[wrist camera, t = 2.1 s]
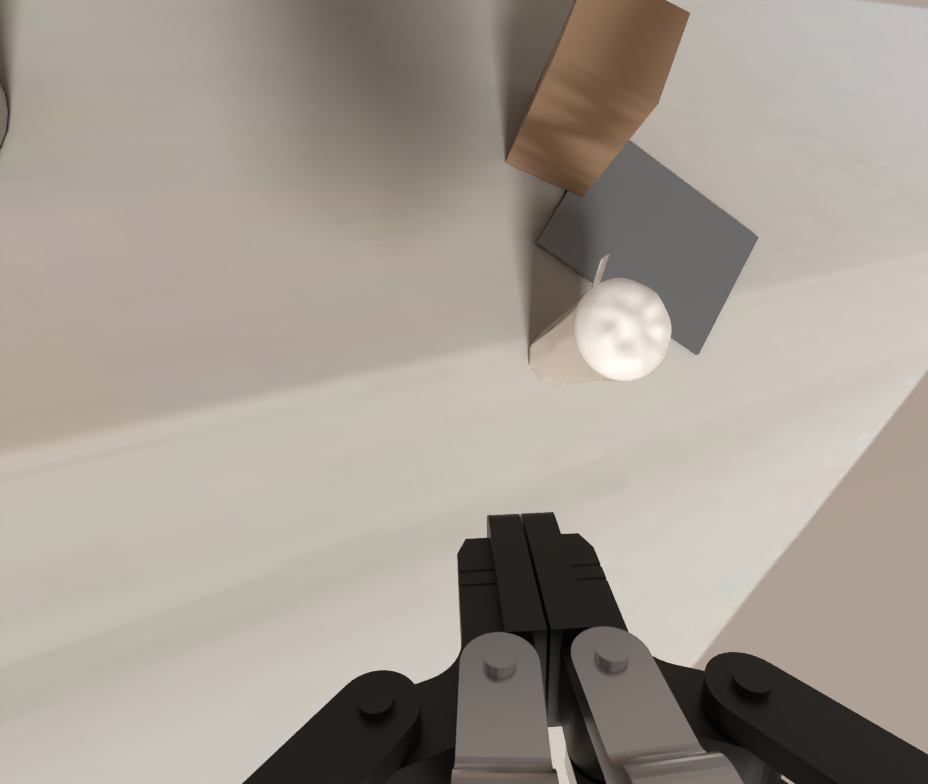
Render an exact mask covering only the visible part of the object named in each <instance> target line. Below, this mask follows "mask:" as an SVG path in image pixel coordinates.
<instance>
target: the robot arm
mask: <svg viewBox="0 0 928 784" xmlns="http://www.w3.org/2000/svg"><path fill="white" fill-rule="evenodd" d="M7 115H8V110H7V104H6V97H5V92H4V90H3V88H2V85H1V83H0V146H1V143H2V140H3V138H4V135H5V132H6V125H7ZM457 558H458V585H459V611H460V630H461V651H460V653H459V656H458V658H457V659H456V661H455V662H454V663H453V664H452V665H451V666H450V668H448V669H447V670H446V671H445V672H443V673H441V674H440V675H438V676H436V677H434V678H431V679H429V680H426V681H423V682H420V683H418V684H414V683H413V682H412V681H411V680H410V679H409V678H407V677H406V676H404V675H402V674H400V673H397V672H394V671H387V670H379V671H373V672H369V673H366V674H363V675H361V676H359V677H357V678H355V679H354V680H352V681H351V682H350V683H349V684H347V685H346V686H345V687H344V688H343V689H342V690H341V691H340V692H339V693H338V694H337V695H336V696H334V697H333V698H332V699H331V700H330V701H329V702H328V703H327V704H326V705H325V706H324V707H323V708H322V709H321V710H320V711H319V712H318V713H316V714H315V715H314V716H313V717H312V718H311V719H310V720H309V721H308V722H307V723H306V724H305V725H304V726H303V727H302V728H301V729H300V730H299V731H297V732H296V733H295V734H294V735H293V736H292V737H291V738H290V739H289V740H288V741H287V742H286V743H285V744H284V745H283V746H282V747H281V748H279V749H278V750H277V751H276V752H275V753H274V754H273V755H272V756H271V757H270V758H269V759H268V760H267V761H266V762H265V763H264V764H263V765H261V766H260V767H259V768H258V769H257V770H256V771H255V772H254V773H253V774H252V775H251V776H250V777H249V778H248V779H247V780H246V781H245V782H243V783H242V784H559V781H558V776H557V771H556V769H553V767H552V761H551V753H550V744H549V735H548V727H557V726H562V728H563V733H564V737H565V742H566V751H565V767H566V772H567V776H568V779H569V782H570V784H788V783H787V782H785V781H784V780H782V779H781V775H783V776H785V777H786V778H788V779H789V780H791V781H792V782H793V783H795V784H928V754H926V753H924V752H923V751H921V750H919V749H917V748H916V747H914V746H912V745H910V744H909V743H907V742H905V741H904V740H902V739H900V738H898V737H897V736H895V735H893V734H892V733H890V732H888V731H886V730H884V729H883V728H881V727H879V726H878V725H876V724H874V723H872V722H871V721H869V720H867V719H866V718H864V717H862V716H860V715H859V714H857V713H855V712H853V711H851V710H850V709H848V708H846V707H845V706H843V705H841V704H840V703H838V702H836V701H835V700H833V699H831V698H829V697H828V696H826V695H824V694H822V693H821V692H819V691H817V690H816V689H814V688H812V687H810V686H809V685H807V684H805V683H803V682H802V681H800V680H798V679H797V678H795V677H793V676H791V675H789V674H788V673H786V672H784V671H783V670H781V669H779V668H778V667H776V666H774V665H772V664H771V663H768V662H767V661H765V660H763V659H761V658H758V657H756V656H753V655H749V654H745V653H739V652H728V653H723V654H719V655H717V656H715V657H713V658H712V659H711V660H710V661H709V662H708V664H707V665H706V668H705V671H702V670H698V669H693V668H688V667H683V666H679V665H674V664H671V663H667V662H664V661H662V660H659V659H657V658H655V657H653V656H652V655H651V653H650V651H649V650H648V648H647V647H646V645H645V644H644V643H643V642H642V641H641V640H639V639H638V638H637V637H636V636H634V635H632V634H631V633H629V632H628V630H627V627H626V625H625V622H624V620H623V617H622V615H621V613H620V610H619V608H618V605H617V603H616V601H615V598H614V596H613V593H612V591H611V588H610V586H609V584H608V581H606V576H605V574H604V572H603V569H602V567H600V562H599V560H598V557H597V555H596V552H595V550H594V547H593V546H592V545H590V544H589V543H588V542H587V541H586V540H585V539H584V538H583V537H582V536H581V535H580V534H578V533H575V534H561V533H560V530H559V527H558V524H557V521H556V518H555V515H554V513H553V512H546V513H525V514H521V516H520V515H519V514H507V515H487V538H476V539H466V540H465V541H464V543H463V545H462V547H461V549H460V550H459V552H458V554H457Z"/></svg>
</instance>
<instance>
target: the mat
mask: <svg viewBox="0 0 928 784" xmlns="http://www.w3.org/2000/svg"><path fill="white" fill-rule="evenodd" d="M757 239H758V237H757V236H756V235H755V234H753V233H752V232H751V231H749V230H748V229H747V228H745V227H744V226H743V225H741V224H740V223H739V222H737V221H736V220H735V219H733V218H732V217H731V216H729V215H728V214H727V213H725V212H724V211H723V210H721V209H720V208H719V207H717V206H716V205H715V204H713V203H712V202H711V201H709V200H708V199H707V198H705V197H704V196H703V195H701V194H700V193H698V192H697V191H696V190H694V189H693V188H692V187H690V186H689V185H688V184H686V183H685V182H684V181H682V180H681V179H680V178H678V177H677V176H676V175H674V174H673V173H672V172H670V171H669V170H668V169H666V168H665V167H664V166H662V165H661V164H660V163H658V162H657V161H656V160H654V159H653V158H652V157H650V156H649V155H648V154H646V153H645V152H644V151H642V150H641V149H640V148H638V147H637V146H636V145H634V144H633V143H632V142H630V141H629V140H628V142H627V143H626V144H625V145H624V147H623V148H622V149H621V150H620V152H619V153H618V154H617V155H616V156H615V158H614V159H613V160H612V161H611V163H610V164H609V165H608V166H607V168H606V169H605V170H604V171H603V173H602V174H601V175H600V176H599V178H598V179H597V180H596V181H595V182H594V184H593V185H592V186H591V187H590V189H589V190H588V191H587V192H586V194H585V195H584V196H583V197H580V196H578V195H576V194H574V193H572V192H569V191H567V192H566V194H565V196H564V197H563V199H562V201H561V202H560V204H559V206H558V207H557V209H556V211H555V212H554V214H553V216H552V217H551V219H550V220H549V222H548V224H547V225H546V227H545V229H544V230H543V232H542V234H541V235H540V237H539V239H538V240H537V242H536V244H537V245H539V246H540V247H542V248H543V249H545V250H546V251H547V252H549V253H550V254H552V255H553V256H555V257H556V258H558V259H559V260H560V261H562V262H563V263H565V264H566V265H568V266H569V267H570V268H572V269H573V270H575V271H576V272H578V273H579V274H580V275H582V276H583V277H585V278H586V279H588V280H589V281H591V282H592V283H593V282H594V279H595V276H596V273H597V270H598V267H599V264H600V261H601V258H603V257H604V256H606V255H607V254H609V258H608V261H607V264H606V267H605V270H604V273H603V276H602V279H601V281H600V283H601V282H603V281H606V280H609V279H613V278H627V279H630V280H633V281H636V282H638V283H640V284H643V285H645V286H647V287H649V288H651V289H652V290H653V291H655V292H656V293H657V294H658V296H659V297H660V299H661V300H662V302H663V304H664V307H665V308H666V310H667V313H668V315H669V318H670V321H671V338H672V339H674V340H675V341H677V342H678V343H680V344H681V345H683V346H684V347H685V348H687V349H688V350H690V351H691V352H693V353H694V354H695V355H697V354H699V353H700V351H701V349H702V347H703V345H704V343H705V341H706V339H707V337H708V335H709V333H710V331H711V329H712V327H713V325H714V323H715V321H716V319H717V317H718V315H719V313H720V311H721V309H722V308H723V306H724V304H725V302H726V300H727V298H728V296H729V294H730V292H731V290H732V288H733V286H734V284H735V282H736V280H737V278H738V276H739V274H740V272H741V270H742V268H743V266H744V264H745V263H746V261H747V259H748V257H749V255H750V253H751V251H752V249H753V247H754V245H755V243H756V241H757Z"/></svg>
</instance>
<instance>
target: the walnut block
mask: <svg viewBox="0 0 928 784" xmlns="http://www.w3.org/2000/svg"><path fill="white" fill-rule="evenodd" d="M689 15H690V13H689V12H687V11H685V10H683V9H681V8H680V7H678V6H676V5H674V4H672V3H670V2H668V1H666V0H575V1H574V4H573V6H572V8H571V10H570V13H569V15H568V17H567V19H566V21H565V24H564V26H563V28H562V30H561V33H560V35H559V37H558V39H557V41H556V44H555V46H554V48H553V50H552V53H551V55H550V57H549V59H548V61H547V64H546V66H545V68H544V70H543V73H542V75H541V77H540V79H539V81H538V84H537V86H536V88H535V90H534V93H533V95H532V98H531V100H530V103H529V105H528V108H527V110H526V112H525V115H524V117H523V120H522V122H521V125H520V127H519V130H518V132H517V135H516V137H515V140H514V142H513V145H512V147H511V150H510V152H509V155H508V157H507V160H506V163H509V164H511V165H513V166H515V167H517V168H519V169H522V170H524V171H526V172H528V173H530V174H532V175H535V176H537V177H539V178H541V179H543V180H545V181H548V182H550V183H552V184H554V185H556V186H559V187H561V188H563V189H565V190H567V191H569V192H572V193H574V194H576V195H578V196H580V197H583V196H584V195H585V194H586V192H587V191H588V190H589V189H590V187H591V186H592V185H593V184H594V182H595V181H596V180H597V179H598V178H599V176H600V175H601V174H602V173H603V171H604V170H605V169H606V168H607V166H608V165H609V164H610V163H611V161H612V160H613V159H614V158H615V156H616V155H617V154H618V153H619V152H620V150H621V149H622V148H623V147H624V145H625V144H626V143H627V142H628V140H629V139H630V138H631V137H632V135H633V134H634V133H635V132H636V130H637V129H638V128H639V127H640V126H641V124H642V123H643V122H644V121H645V119H646V118H647V117H648V116H649V114H650V113H651V112H652V111H653V109H654V108H655V107H656V106H657V104H658V103H659V100H660V97H661V94H662V91H663V89H664V86H665V83H666V80H667V77H668V74H669V72H670V69H671V66H672V63H673V60H674V57H675V55H676V52H677V49H678V46H679V43H680V40H681V38H682V35H683V32H684V29H685V26H686V23H687V20H688V18H689Z"/></svg>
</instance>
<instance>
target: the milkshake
mask: <svg viewBox="0 0 928 784" xmlns="http://www.w3.org/2000/svg"><path fill="white" fill-rule="evenodd" d="M608 258H609V254H607V255H606V256H604V257H603V258H601V261H600V264H599V267H598V270H597V273H596V276H595V279H594V282H593V286H592V288H591V289H590V290H589V291H588V292H587V293H586V294H585V295H583V296H582V297H581V298H580V299H579V300H578V301H577V302H576V303H575V304H574V305H573V306H572V307H571V308H569V309H568V310H567V311H566V312H565V313H563V314H562V315H561V316H560V317H558V318H557V319H556V320H555V321H554V322H552V323H551V324H550V325H549V326H547V327H546V328H545V329H544V330H543V331H541V332H540V333H539V335H538V336H537V337H536V339H535V340H534V341H533V343H532V344H531V345H530V347H529V365H530V366H531V368H532V369H533V371H534V372H535V374H536V375H537V377H538V378H539V379H540V380H543V381H545V382H548V383H550V384H553V385H566V384H576V383H587V382H599V381H626V380H635V379H638V378H641V377H643V376H645V375H647V374H648V373H650V372H651V371H652V370H654V369H655V368H656V367H657V366H658V365H659V363H660V362H661V361H662V359H663V358H664V356H665V354H666V351H667V348H668V345H669V342H670V338H671V321H670V318H669V315H668V313H667V310H666V308H665V307H664V304H663V302H662V300H661V299H660V297H659V296H658V294H657V293H656V292H655V291H653V290H652V289H651V288H649V287H647V286H645V285H643V284H640V283H638V282H636V281H633V280H630V279H627V278H613V279H609V280H606V281H603V282H601V283H600V281H601V279H602V276H603V273H604V270H605V267H606V264H607V261H608Z"/></svg>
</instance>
